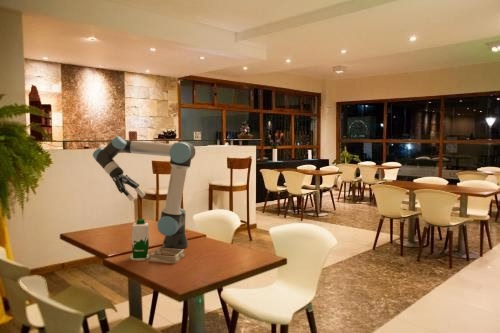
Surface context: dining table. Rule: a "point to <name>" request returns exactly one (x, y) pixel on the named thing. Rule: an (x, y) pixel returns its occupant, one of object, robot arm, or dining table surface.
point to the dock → (158, 257)
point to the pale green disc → (139, 258)
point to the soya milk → (140, 239)
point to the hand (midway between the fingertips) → (138, 197)
